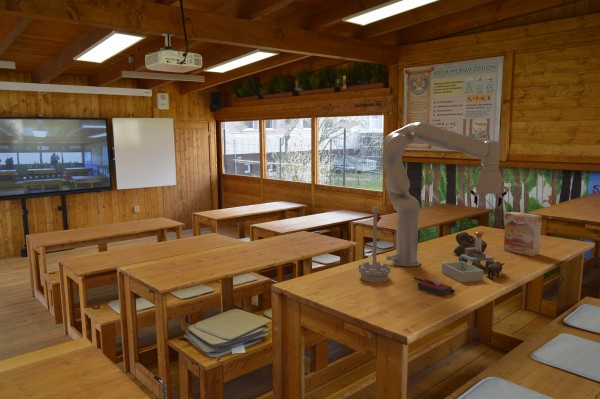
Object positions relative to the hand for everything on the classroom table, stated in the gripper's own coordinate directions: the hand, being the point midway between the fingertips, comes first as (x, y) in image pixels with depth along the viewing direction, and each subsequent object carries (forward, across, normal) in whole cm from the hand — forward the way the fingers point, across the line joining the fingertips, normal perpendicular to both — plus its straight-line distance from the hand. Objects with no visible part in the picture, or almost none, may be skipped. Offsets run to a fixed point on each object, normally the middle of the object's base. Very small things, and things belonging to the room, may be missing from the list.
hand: (487, 205), depth 214 cm
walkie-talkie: (+27, -19, -48) cm, 58 cm away
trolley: (+26, -3, -11) cm, 29 cm away
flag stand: (+27, -42, -43) cm, 66 cm away
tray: (+26, -8, -27) cm, 39 cm away
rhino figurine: (+27, +5, -22) cm, 35 cm away
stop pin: (+21, -3, -12) cm, 25 cm away
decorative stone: (+27, -7, +12) cm, 30 cm away
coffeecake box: (+26, +16, +24) cm, 39 cm away
